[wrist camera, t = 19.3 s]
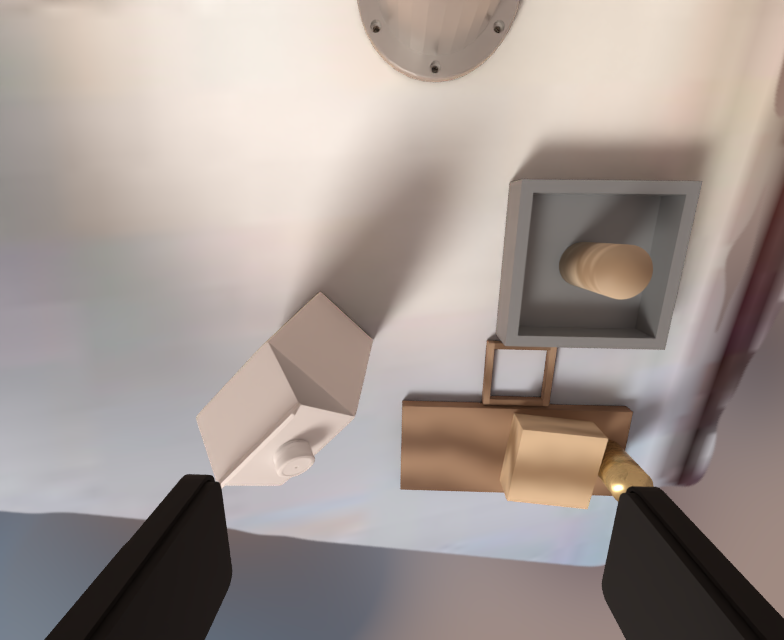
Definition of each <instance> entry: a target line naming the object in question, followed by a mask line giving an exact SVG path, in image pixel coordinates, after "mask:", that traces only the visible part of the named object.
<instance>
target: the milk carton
mask: <svg viewBox="0 0 784 640" xmlns="http://www.w3.org/2000/svg"><path fill="white" fill-rule="evenodd" d="M372 343H373V339H372V338H370V337H369V336H368V335H367V334H366V333H365V332H364V331H363V330H362V329H361V328H360V327H359V326H357V325H356V324H355V323H354V322H353V321H352V320H351V319H350V318H349V317H348V316H347V315H345V314H344V313H343V312H342V311H341V310H340V309H339V308H338V307H337V306H336V305H335V304H333V303H332V302H331V301H330V300H329V299H328V298H327V297H326V296H325V295H324V294H323V293H322V292H319V293H318V294H317V295H316V296H314V297H313V298H312V299H311V300H310V301H309V302H308V303H307V304H306V305H305V306H304V307H303V308H302V309H301V310H299V311H298V312H297V313H296V314H295V315H294V316H293V317H292V318H291V319H290V320H289V321H288V322H287V323H286V324H284V325H283V326H282V327H281V328H280V329H279V330H278V331H277V332H276V333H275V334H274V335H273V336H272V337H270V338H269V339H268V340H267V341H266V342H265V343H264V344H263V345H262V346H261V347H260V348H259V349H258V350H257V351H256V352H255V354H254V355H253V356H252V357H251V358H250V359H249V360H248V361H247V362H246V363H245V364H244V365H243V366H242V368H241V369H240V370H239V371H238V372H237V373H236V374H235V375H234V376H233V377H232V378H231V379H230V380H229V382H228V383H227V384H226V385H225V386H224V387H223V388H222V389H221V390H220V391H219V392H218V393H217V394H216V396H215V397H214V398H213V399H212V400H211V401H210V402H209V403H208V404H207V405H206V406H205V407H204V408H203V410H202V411H201V412H200V413H199V414H198V415H197V417H196V420H197V423H198V426H199V429H200V432H201V435H202V438H203V442H204V445H205V448H206V451H207V454H208V457H209V460H210V463H211V466H212V469H213V472H214V475H215V479H216V482H219V483H220V484H221V489H222V488H223V487H224V486H225V485H257V486H279V485H282V484H284V483H285V482H286V481H287V480H289V479H290V478H291V477H294V476H297V475H299V474H302V473H303V472H305V471H306V470H308V469H309V468H310V467H311V466H312V465H313V463H314V461H315V457H314V455H316V454H317V453H318V452H319V451H320V450H321V449H322V448H323V447H324V446H325V445H326V444H327V443H328V442H329V441H331V440H332V439H333V438H334V437H335V436H336V435H337V434H338V433H339V432H340V431H341V430H342V429H343V428H344V427H345V426H347V425H348V424H349V423H350V422H351V421H352V420H353V418H354V417H355V415H356V411H357V407H358V403H359V399H360V394H361V390H362V386H363V381H364V377H365V373H366V369H367V364H368V360H369V356H370V351H371V347H372Z"/></svg>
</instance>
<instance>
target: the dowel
mask: <svg viewBox="0 0 784 640" xmlns="http://www.w3.org/2000/svg"><path fill="white" fill-rule="evenodd" d="M559 271H560V274H561V276H562V278H563V279H564V280H565V281H566V282H567V283H569V284H571V285H574V286H577V287H580V288H583V289H586V290H589V291H592V292H595V293H598V294H601V295H604V296H608V297H611V298H614V299H628V298H632V297H634V296H636V295H638V294H639V293H640V292H642V291H643V290H644V289H645V288H646V286H647V285H648V284H649V282H650V280H651V277H652V273H653V264H652V260H651V258H650V256H649V254H648V253H647V252H646V251H645V250H644V249H642V248H641V247H639V246H635V245H628V244H612V243H595V242H579V243H575V244H573V245H571V246H570V247H568V248H567V249H566V250H565V251H564V253H563V254H562V256H561V258H560V262H559Z"/></svg>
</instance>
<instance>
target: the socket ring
mask: <svg viewBox="0 0 784 640" xmlns="http://www.w3.org/2000/svg"><path fill="white" fill-rule="evenodd" d="M494 349H515V350H547V354H546V361H545V369H544V376H543V384H542V392H541V397H521V396H490V391H491V380H492V369H493V358H494ZM556 351H557V347H520V346H505V345H504V344H503V343H502V341H490V340H487V345H486V356H485V368H484V380H483V391H482V403H483V405H520V406H549V401H550V394H551V387H552V380H553V373H554V366H555V359H556Z"/></svg>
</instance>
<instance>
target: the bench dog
mask: <svg viewBox="0 0 784 640" xmlns="http://www.w3.org/2000/svg"><path fill="white" fill-rule="evenodd" d="M598 477H599V478H600V479H601V481H602V482H603V483H604V485H605V486H606V487H607V489H608V490H609V491H610V493H611V494H612V495H613V497H614V498H615V499H616V500H617V501H619V497H620V495H621V494H622V493H626V490H627V489H628V488H629V487H631V486H643V487H653V481H652V479H651V478H650V477H649V476H648V475H647V474H646V473H645V472H644V470H643V469H642V468H641V467H640V466H639V465H638V464H637V463H636V462H635V461H634V460H633V459H632V458H631V457H630V456H629V455H628V454H627V452H626V451H625V450H624V449H623V448H622V447H621V446H620V445H619V444H618V443H617V442H615V441H612V440H608V442H607V445H606V449H605V452H604V455H603V459H602V462H601V465H600V469H599V472H598Z"/></svg>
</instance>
